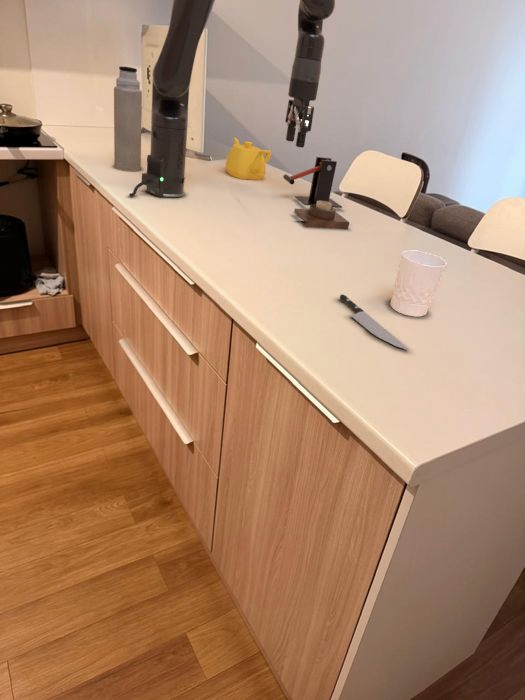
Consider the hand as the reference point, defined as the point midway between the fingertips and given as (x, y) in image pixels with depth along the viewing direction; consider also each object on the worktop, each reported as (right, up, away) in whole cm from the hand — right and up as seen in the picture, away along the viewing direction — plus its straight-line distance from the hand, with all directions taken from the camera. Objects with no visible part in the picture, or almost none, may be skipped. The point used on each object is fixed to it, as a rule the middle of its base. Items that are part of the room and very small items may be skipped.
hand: (294, 144), depth 141 cm
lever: (+5, -7, +6) cm, 10 cm away
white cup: (+18, -50, -47) cm, 71 cm away
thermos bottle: (-51, 0, +19) cm, 55 cm away
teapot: (-14, +3, +34) cm, 37 cm away
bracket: (+8, -14, +12) cm, 20 cm away
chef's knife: (+9, -53, -55) cm, 77 cm away
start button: (+7, -20, -6) cm, 22 cm away
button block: (+7, -23, -4) cm, 24 cm away
